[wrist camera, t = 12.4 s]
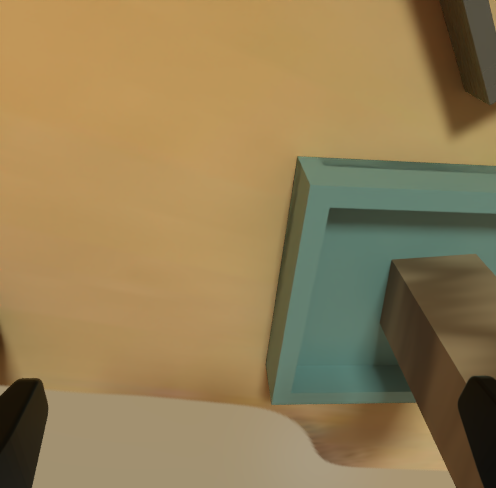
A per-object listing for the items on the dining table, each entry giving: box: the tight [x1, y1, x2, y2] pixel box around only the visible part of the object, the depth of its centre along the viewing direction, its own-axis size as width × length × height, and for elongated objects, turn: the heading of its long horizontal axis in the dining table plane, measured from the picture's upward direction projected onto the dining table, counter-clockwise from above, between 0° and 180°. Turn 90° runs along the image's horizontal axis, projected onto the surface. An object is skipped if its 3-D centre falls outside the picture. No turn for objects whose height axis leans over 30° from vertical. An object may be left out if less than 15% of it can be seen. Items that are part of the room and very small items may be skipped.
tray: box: [266, 156, 496, 405], centre depth 24 cm, size 16×14×3 cm
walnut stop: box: [380, 254, 496, 488], centre depth 19 cm, size 4×4×12 cm
